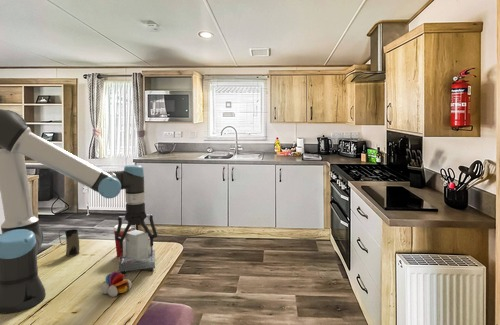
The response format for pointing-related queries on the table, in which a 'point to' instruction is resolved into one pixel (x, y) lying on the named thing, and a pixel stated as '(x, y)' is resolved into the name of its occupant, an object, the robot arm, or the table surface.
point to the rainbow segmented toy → (115, 284)
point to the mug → (71, 242)
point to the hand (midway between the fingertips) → (137, 254)
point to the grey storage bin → (136, 262)
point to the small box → (137, 245)
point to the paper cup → (120, 236)
